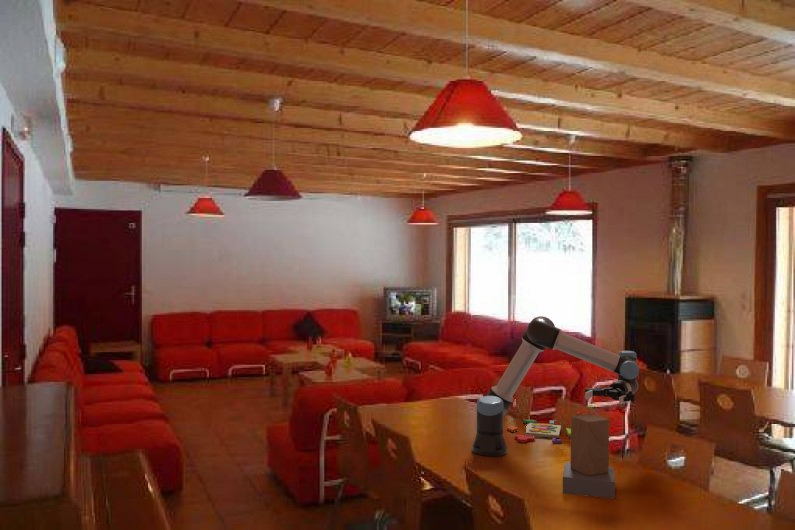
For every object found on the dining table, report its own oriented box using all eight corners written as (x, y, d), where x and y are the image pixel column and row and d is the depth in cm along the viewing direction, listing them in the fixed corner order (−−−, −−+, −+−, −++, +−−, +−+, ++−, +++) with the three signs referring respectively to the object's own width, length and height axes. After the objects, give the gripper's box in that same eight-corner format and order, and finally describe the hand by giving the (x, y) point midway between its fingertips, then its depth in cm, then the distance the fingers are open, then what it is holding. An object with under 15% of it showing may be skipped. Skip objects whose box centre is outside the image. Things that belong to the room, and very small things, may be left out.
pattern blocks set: (502, 423, 336) (502, 417, 336) (567, 424, 335) (567, 418, 335) (513, 443, 298) (513, 437, 298) (586, 445, 297) (586, 438, 297)
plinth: (562, 493, 234) (562, 476, 234) (564, 477, 251) (564, 462, 251) (614, 499, 228) (614, 482, 228) (613, 482, 246) (613, 466, 246)
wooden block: (609, 473, 238) (609, 419, 238) (587, 476, 234) (588, 421, 234) (590, 465, 247) (591, 413, 247) (569, 468, 243) (570, 415, 243)
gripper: (649, 403, 265) (634, 412, 248) (590, 395, 280) (572, 403, 263) (650, 385, 265) (634, 393, 248) (591, 377, 280) (572, 384, 263)
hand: (602, 398), depth 256 cm, fingers open, 13 cm apart
